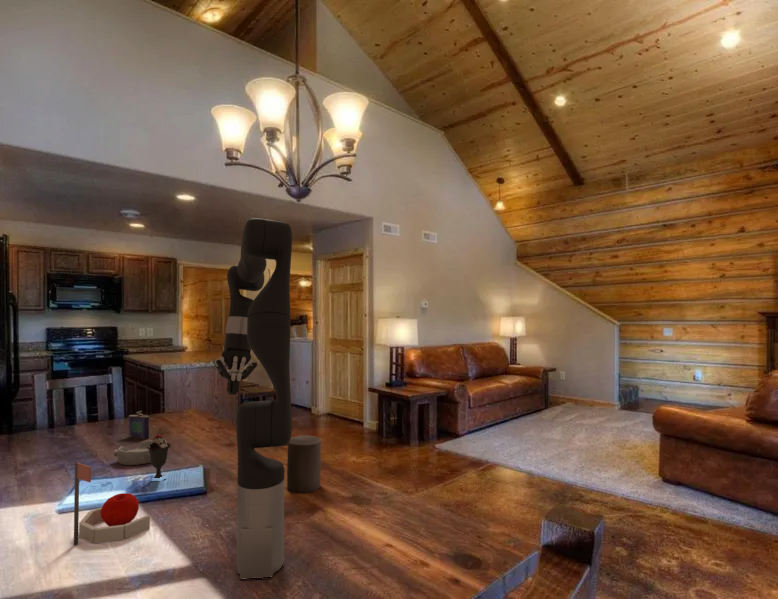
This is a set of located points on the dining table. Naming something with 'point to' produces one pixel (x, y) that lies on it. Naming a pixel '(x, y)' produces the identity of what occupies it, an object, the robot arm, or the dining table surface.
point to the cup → (94, 516)
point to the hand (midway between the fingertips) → (232, 394)
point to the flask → (138, 426)
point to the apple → (120, 509)
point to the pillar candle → (303, 464)
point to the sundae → (158, 453)
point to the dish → (134, 454)
